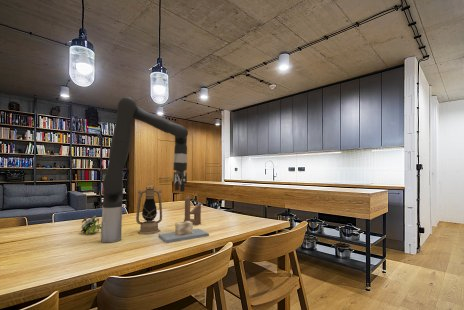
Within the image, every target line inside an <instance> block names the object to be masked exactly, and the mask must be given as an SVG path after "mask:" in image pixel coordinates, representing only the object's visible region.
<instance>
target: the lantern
mask: <svg viewBox="0 0 464 310" xmlns="http://www.w3.org/2000/svg"><path fill="white" fill-rule="evenodd" d="M144 193H145V194H144ZM155 193H156V194H155ZM161 194H162V189H159V190H158V189H155V185H152V184H148V185H146V186H145V189H144V190H139V189H138V191H137V195H138V198H137V204H136V206H137V208H136V219H135V220H136V221H135V222H136V223H137V224H138V225H140V227H139V228H140V229H139V230H138V232H137V233H138V234H139V235H154V234H158V233H160V232H161V230H160V229H159V224H160V223H161V222H162V221H163V205H162V204H163V203H162V195H161ZM156 195H157V197H158V198H157V199H158V209H157V204H156V201H155V196H156ZM143 196H145V200H144V204H143V205H142V211H141V202H142V197H143ZM140 213H141V216H142V218H143V219H144V220H143V219H142V221H143V222H142V221H140V220H141V218H140ZM158 214H159V218H158V220H155V219H156V218H157V215H158Z"/></svg>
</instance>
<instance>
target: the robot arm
mask: <svg viewBox="0 0 464 310" xmlns="http://www.w3.org/2000/svg"><path fill="white" fill-rule="evenodd" d="M133 119H135V120H137V121H140V122H142V123H145V124H147V125H149V126H151V127H154V128H155V129H157V130H160V131H161V132H164V133H166V134H170V135H172V136H174V153H173V168H172V169H173V171H174V172H173V181H172V182H173V183H174V190H175V191H179V190H180V192H181V193H182V192H185V186H186V184H188V182H187V181H188V175H187V173H188V172H185V171H187V170H188V145H187V143H188V141H187V140H188V134H189V132H188V129H187V127H185V126H183V125H182V124H178V123H175V122H173V121H171V120H169V119H167V118H165V117H162V116H160V115H158V114H154V113H151V112H149V111H147V110H144V109H143V108H141V107H140V106H138V105H137V103H136V101H135V100H134V99H133V98H132V97H130V96H125V97H124V96H123V97H122V98H121V99H120V100H119V101H118V103H117V112H116V121H115V125H114V129H113V133H112V137H111V143H110V146H109V154H108V155H109V156H108V166H107V170H106V173H105V175H104V179H103V182H102V189H103V199H102V215H101V223H100V224H101V225H100V226H101V229H100V241H101V243H102V244H103V243H108V244H109V243H115V242H118V241H121V240H122V228H123V227H122V226H123V225H122V224H123V223H122V222H123V219H122V218H123V201H124V200H123V199H124V197H123V196H124V182H123V177H124V167H125V164H126V162H127V159H128V156H129V153H130V148H131V142H132V141H131V140H132V121H133Z"/></svg>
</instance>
